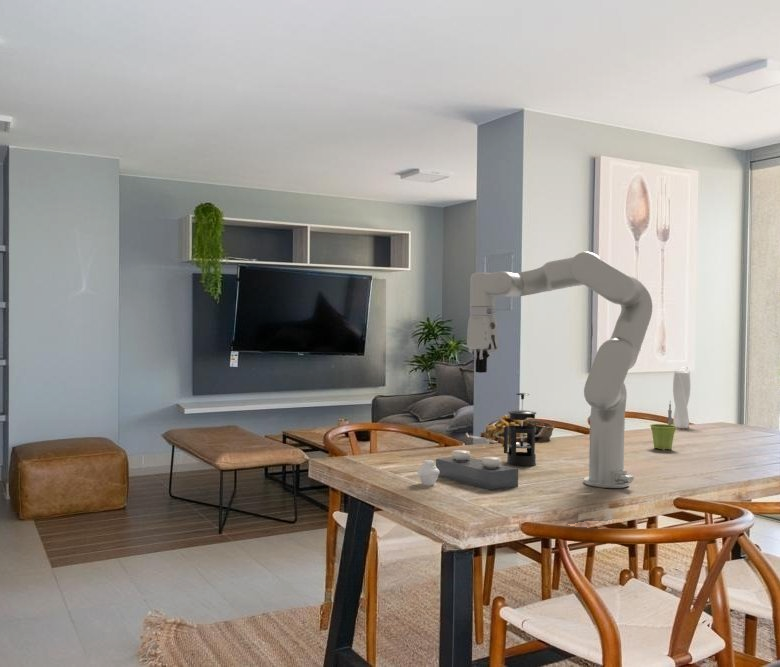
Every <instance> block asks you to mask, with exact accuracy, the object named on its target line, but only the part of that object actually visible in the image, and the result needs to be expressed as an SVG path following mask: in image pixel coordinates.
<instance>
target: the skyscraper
mask: <svg viewBox="0 0 780 667" xmlns="http://www.w3.org/2000/svg"><path fill="white" fill-rule="evenodd" d="M682 368H684V369H685V370H684V369H682ZM672 381H673V382H672V392H673V393H672V394H673V401H674V406H675V408H674V413H673V419H672V412H673V410H672V404H671V400H669V404H668V406H669V407H668V410H667V413H668V417H667V425H674V426H677V428H679V429H687V428H690V422H689V412H688V411H689V410H688V404H689V401H690V395H691V372H690V371H689V370H688V366H678V367H677V368H676V369H675V370H674V371H673V380H672ZM672 420H673V421H672Z"/></svg>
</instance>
